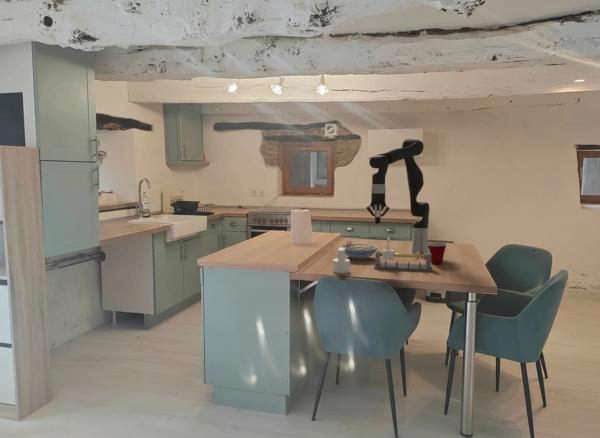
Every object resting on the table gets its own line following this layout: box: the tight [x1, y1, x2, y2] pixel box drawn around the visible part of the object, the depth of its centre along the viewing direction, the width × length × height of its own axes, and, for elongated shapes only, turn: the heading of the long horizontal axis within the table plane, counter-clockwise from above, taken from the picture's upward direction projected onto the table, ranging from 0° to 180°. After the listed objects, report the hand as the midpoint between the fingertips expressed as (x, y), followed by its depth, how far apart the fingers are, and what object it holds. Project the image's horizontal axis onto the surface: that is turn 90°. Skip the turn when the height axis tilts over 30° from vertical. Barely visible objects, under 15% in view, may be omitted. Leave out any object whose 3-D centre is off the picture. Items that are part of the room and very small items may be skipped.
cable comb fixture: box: [373, 250, 433, 273], centre depth 244 cm, size 30×12×9 cm, turn 77°
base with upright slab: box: [332, 246, 351, 274], centre depth 237 cm, size 9×9×12 cm
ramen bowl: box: [339, 241, 379, 260], centre depth 270 cm, size 25×23×8 cm
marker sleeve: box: [381, 237, 395, 261], centre depth 245 cm, size 6×5×12 cm
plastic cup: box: [427, 241, 448, 266], centre depth 255 cm, size 11×11×12 cm
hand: (377, 223), depth 245 cm, fingers closed
